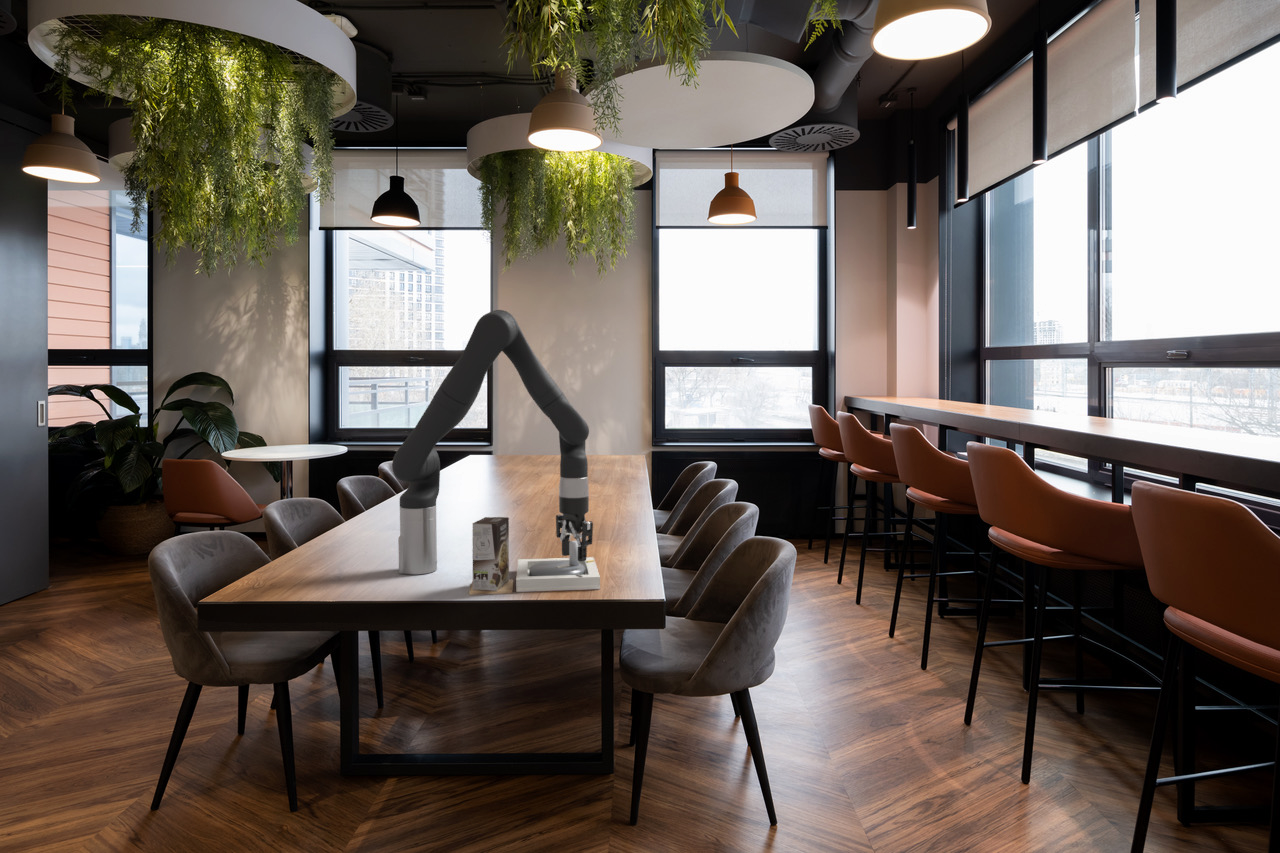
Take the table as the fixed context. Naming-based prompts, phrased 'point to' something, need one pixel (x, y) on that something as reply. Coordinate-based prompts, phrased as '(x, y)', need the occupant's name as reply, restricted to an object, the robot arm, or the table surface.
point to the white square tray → (556, 577)
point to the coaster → (503, 590)
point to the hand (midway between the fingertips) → (573, 557)
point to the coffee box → (490, 553)
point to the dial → (560, 565)
